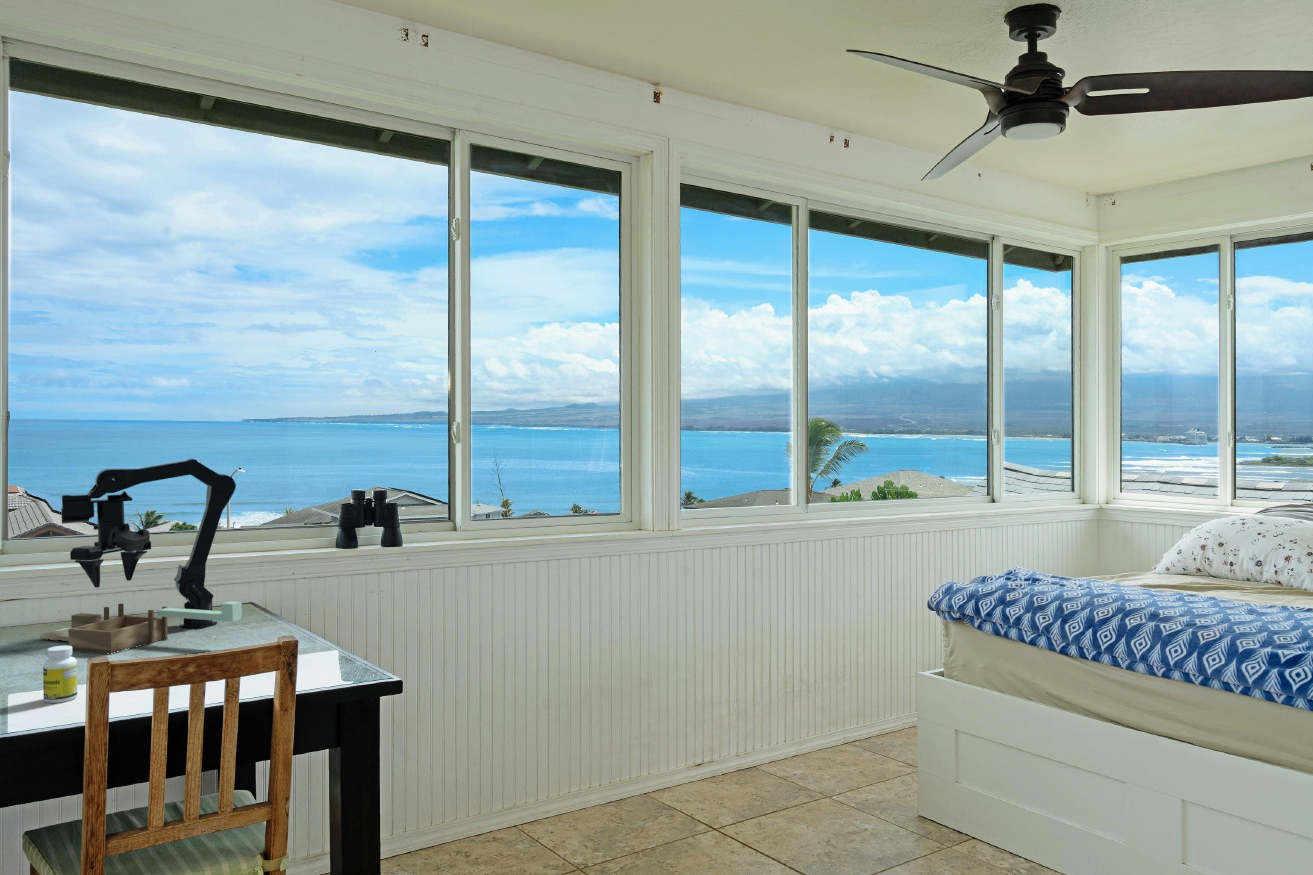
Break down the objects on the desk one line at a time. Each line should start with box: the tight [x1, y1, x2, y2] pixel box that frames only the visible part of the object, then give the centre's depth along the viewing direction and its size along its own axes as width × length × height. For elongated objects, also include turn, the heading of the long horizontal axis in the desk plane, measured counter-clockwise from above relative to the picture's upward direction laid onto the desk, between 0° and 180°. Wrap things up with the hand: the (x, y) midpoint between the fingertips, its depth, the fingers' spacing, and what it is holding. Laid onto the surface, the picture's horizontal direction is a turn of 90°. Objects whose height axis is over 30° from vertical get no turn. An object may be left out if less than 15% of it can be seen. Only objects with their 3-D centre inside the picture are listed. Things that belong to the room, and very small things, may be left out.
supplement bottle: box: [42, 645, 78, 704], centre depth 178 cm, size 5×5×10 cm
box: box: [68, 603, 169, 655], centre depth 221 cm, size 16×14×8 cm
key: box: [157, 600, 243, 623], centre depth 221 cm, size 3×21×4 cm, turn 74°
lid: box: [39, 612, 102, 642], centre depth 231 cm, size 16×11×5 cm
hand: (113, 583), depth 231 cm, fingers open, 9 cm apart
